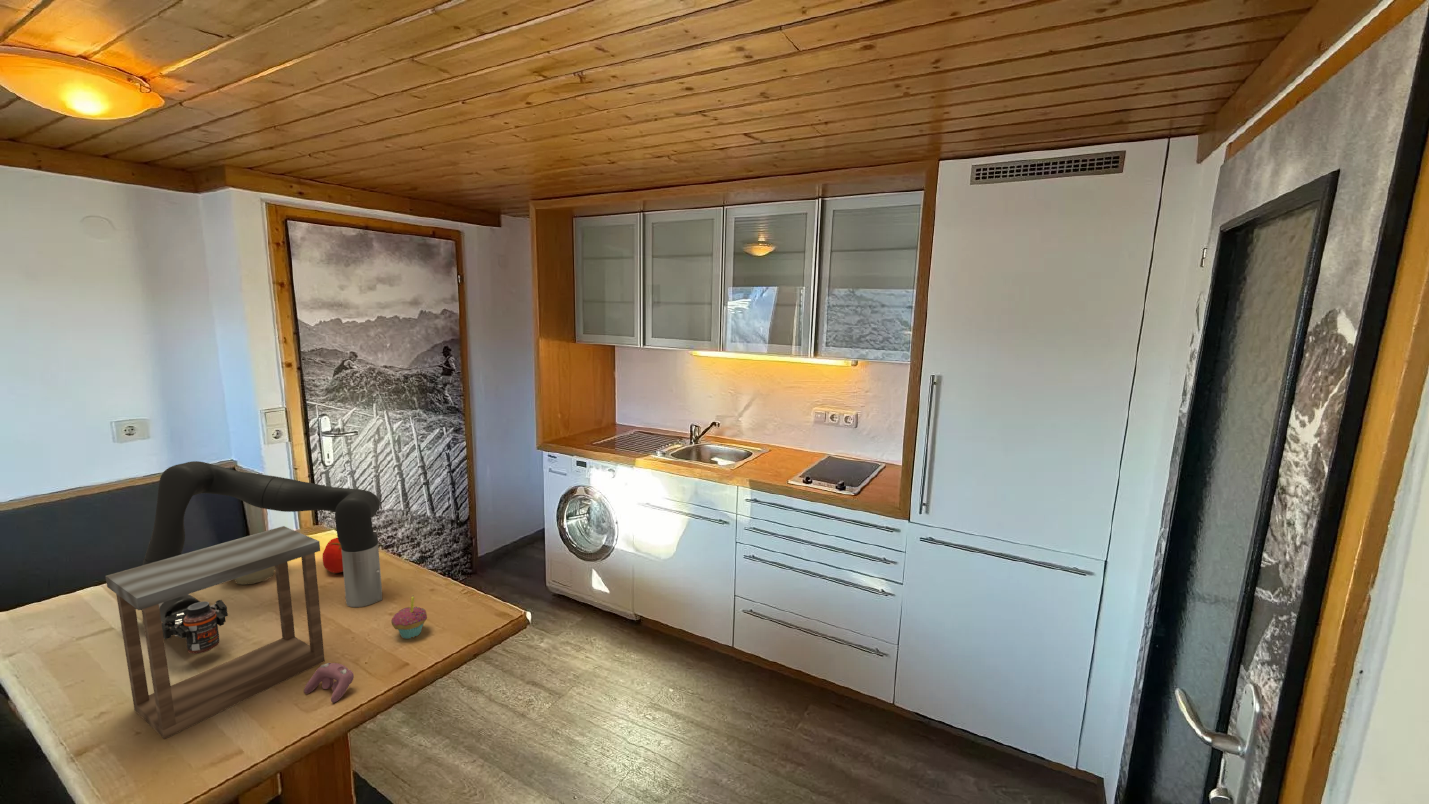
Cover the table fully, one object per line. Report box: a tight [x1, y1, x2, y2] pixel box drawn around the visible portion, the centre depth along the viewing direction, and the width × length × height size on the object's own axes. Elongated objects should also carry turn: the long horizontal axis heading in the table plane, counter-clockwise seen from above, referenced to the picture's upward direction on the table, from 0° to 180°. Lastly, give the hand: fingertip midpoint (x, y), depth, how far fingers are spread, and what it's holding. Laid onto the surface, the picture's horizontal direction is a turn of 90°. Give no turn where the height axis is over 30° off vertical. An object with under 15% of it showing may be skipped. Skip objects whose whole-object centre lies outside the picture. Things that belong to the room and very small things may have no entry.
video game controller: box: [303, 662, 355, 704], centre depth 129 cm, size 10×5×7 cm, turn 72°
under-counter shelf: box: [105, 525, 326, 740], centre depth 128 cm, size 17×32×32 cm, turn 151°
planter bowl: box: [234, 566, 275, 585], centre depth 179 cm, size 16×16×11 cm
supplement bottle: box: [183, 601, 220, 655], centre depth 138 cm, size 6×6×11 cm
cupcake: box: [390, 596, 428, 639], centre depth 152 cm, size 9×8×12 cm
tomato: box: [322, 537, 343, 574], centre depth 187 cm, size 14×13×10 cm
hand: (205, 628), depth 136 cm, fingers closed on supplement bottle, 6 cm apart
